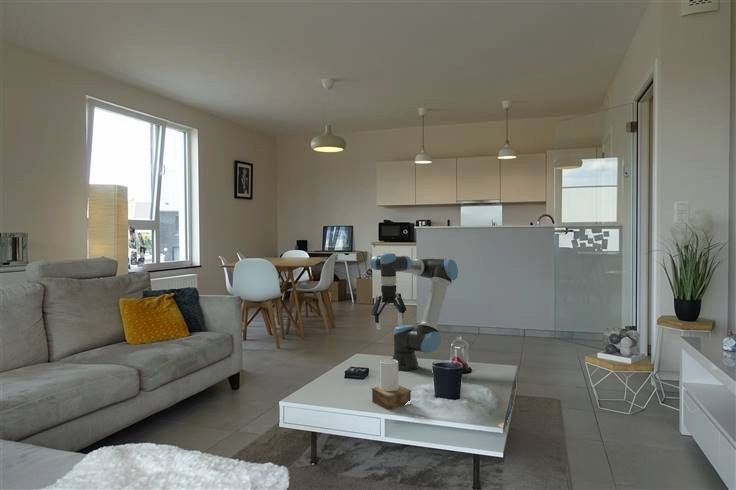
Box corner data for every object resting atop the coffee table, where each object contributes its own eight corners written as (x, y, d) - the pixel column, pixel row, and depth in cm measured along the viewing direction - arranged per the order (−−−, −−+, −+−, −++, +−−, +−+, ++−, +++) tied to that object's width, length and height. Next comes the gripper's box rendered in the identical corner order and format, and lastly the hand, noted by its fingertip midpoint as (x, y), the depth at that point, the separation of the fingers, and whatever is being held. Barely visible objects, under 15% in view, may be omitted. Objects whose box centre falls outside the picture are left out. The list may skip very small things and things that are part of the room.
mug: (403, 392, 206) (403, 364, 205) (384, 394, 203) (384, 366, 203) (395, 384, 217) (395, 358, 217) (377, 386, 215) (377, 359, 215)
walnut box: (394, 396, 219) (394, 383, 219) (411, 404, 209) (411, 390, 209) (371, 401, 212) (371, 388, 212) (388, 410, 202) (388, 395, 202)
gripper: (403, 282, 248) (404, 323, 249) (363, 286, 233) (364, 329, 234) (412, 283, 242) (413, 325, 242) (372, 287, 227) (373, 332, 228)
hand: (389, 327), depth 238 cm, fingers open, 13 cm apart
